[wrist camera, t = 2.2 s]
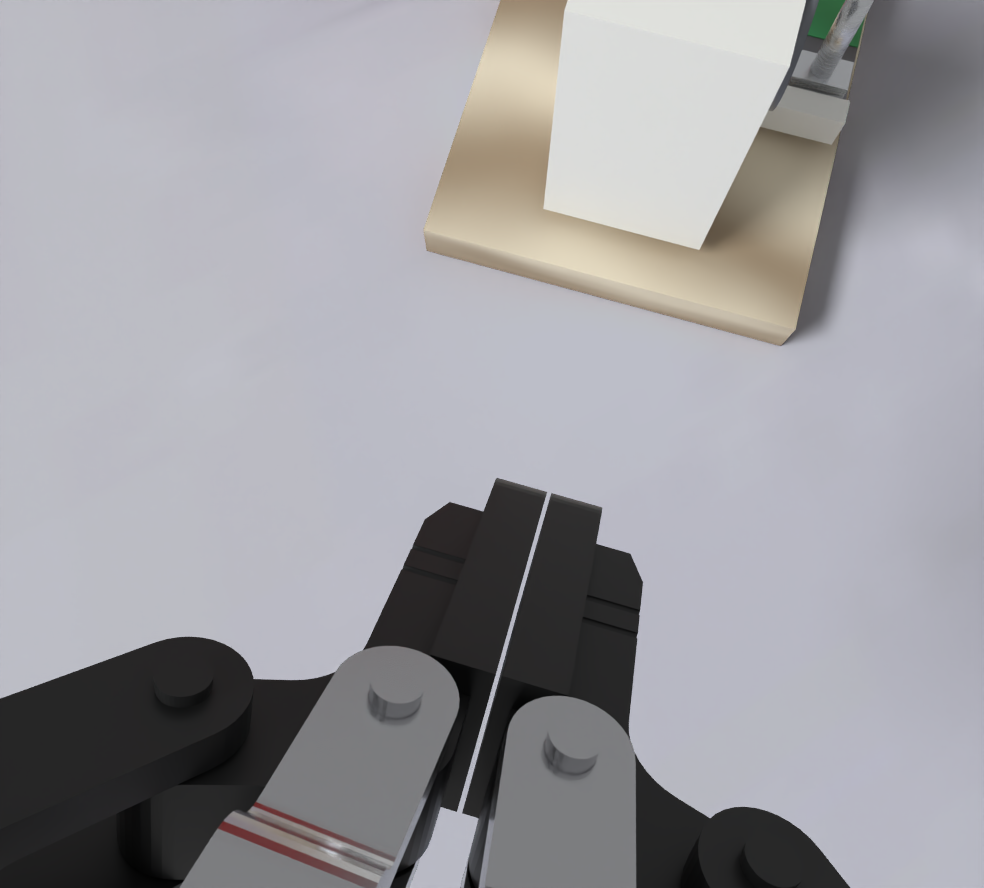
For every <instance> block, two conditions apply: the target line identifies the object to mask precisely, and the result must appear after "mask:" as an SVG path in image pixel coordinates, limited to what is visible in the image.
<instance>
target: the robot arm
mask: <svg viewBox="0 0 984 888" xmlns="http://www.w3.org/2000/svg"><path fill="white" fill-rule="evenodd" d="M546 493H547V492H545V491H541V490H538V489H534V488H531V487H527V486H524V485H520V484H517V483H513V482H510V481H506V480H503V479H499V478H497V479H496V480H495V483H494V486H493V488H492V491H491V494H490V496H489V499H488V501H487V504H486V507H485V509H484V512H482V511H479V510H475V509H472V508H469V507H465V506H462V505H458V504H455V503H451V502H449V503H448V504H446V505H445V506H443V507H442V508H441V509H439V510H438V511H436V512H435V513H433V514H432V515H431V516H429V517H428V518H426V519H425V521H424V523H423V525H422V527H421V529H420V531H419V533H418V536H417V538H416V540H415V542H414V544H413V548H412V549H411V550H410V553H409V555H408V557H407V559H406V561H405V563H404V566H403V569H402V570H401V572H400V574H399V576H398V578H397V580H396V583H395V585H394V587H393V589H392V591H391V593H390V595H389V598H388V600H387V602H386V604H385V606H384V608H383V610H382V612H381V615H380V617H379V619H378V621H377V623H376V625H375V627H374V630H373V632H372V634H371V636H370V638H369V640H368V642H367V644H366V646H365V648H364V649H363V651H360V652H358V653H356V654H354V655H353V656H351V657H349V658H348V659H347V660H346V661H344V662H343V663H342V664H341V665H340V667H339V668H338V669H337V671H336V672H334V673H332V674H329V675H326V676H323V677H319V678H314V679H307V680H262V679H253V675H252V672H251V669H250V667H249V666H248V664H247V662H246V661H245V660H244V658H243V657H242V656H241V655H240V654H239V653H237V652H236V651H235V650H233V649H232V648H230V647H228V646H227V645H225V644H223V643H220V642H217V641H214V640H211V639H206V638H200V637H177V638H171V639H166V640H162V641H159V642H155V643H153V644H150V645H147V646H144V647H142V648H139V649H136V650H133V651H131V652H128V653H125V654H122V655H120V656H117V657H114V658H111V659H109V660H106V661H103V662H100V663H98V664H95V665H92V666H89V667H87V668H84V669H81V670H78V671H76V672H73V673H70V674H67V675H65V676H62V677H59V678H56V679H53V680H51V681H48V682H45V683H42V684H40V685H37V686H34V687H31V688H29V689H26V690H23V691H20V692H18V693H15V694H12V695H9V696H7V697H4V698H1V699H0V888H409V887H410V885H411V882H412V880H413V877H414V875H415V872H416V870H417V866H418V863H419V859H420V857H421V856H422V855H423V853H424V852H425V850H426V849H427V847H428V845H429V842H430V840H431V837H432V834H433V830H434V827H435V824H436V820H437V817H438V814H439V810H440V807H443V808H446V809H450V810H453V811H456V812H457V809H458V806H459V802H460V798H461V795H462V791H463V788H464V784H465V781H466V777H467V774H468V770H469V767H470V763H471V760H472V756H473V753H474V749H475V745H476V742H477V738H478V735H479V731H480V728H481V724H482V721H483V717H484V714H485V710H486V707H487V703H488V700H489V696H490V692H491V689H492V685H493V682H494V678H495V675H496V671H497V668H498V664H499V661H500V657H501V653H502V650H503V646H504V643H505V639H506V636H507V632H508V629H509V625H510V621H511V618H512V614H513V611H514V607H515V604H516V600H517V597H518V593H519V589H520V586H521V582H522V579H523V575H524V572H525V568H526V565H527V561H528V557H529V554H530V550H531V547H532V543H533V540H534V536H535V533H536V529H537V525H538V522H539V518H540V515H541V511H542V508H543V504H544V501H545V497H546ZM601 513H602V507H598V506H595V505H591V504H588V503H584V502H581V501H577V500H574V499H570V498H566V497H563V496H559V495H556V494H552V493H551V497H550V500H549V504H548V507H547V511H546V514H545V518H544V521H543V525H542V528H541V531H540V535H539V538H538V542H537V545H536V549H535V552H534V556H533V559H532V563H531V566H530V570H529V573H528V577H527V580H526V584H525V587H524V591H523V595H522V598H521V602H520V605H519V609H518V612H517V616H516V620H515V623H514V627H513V630H512V634H511V638H510V641H509V645H508V649H507V652H506V656H505V660H504V663H503V667H502V670H501V674H500V678H499V681H498V685H497V689H496V692H495V696H494V700H493V703H492V707H491V711H490V714H489V718H488V721H487V725H486V729H485V732H484V736H483V740H482V743H481V747H480V751H479V754H478V758H477V761H476V765H475V769H474V772H473V776H472V780H471V783H470V787H469V791H468V794H467V798H466V801H465V805H464V809H463V812H462V813H464V814H467V815H470V816H473V817H477V818H479V820H478V824H477V827H476V831H475V835H474V839H473V843H472V847H471V851H470V854H469V858H468V861H467V864H466V867H465V871H464V874H463V878H462V881H461V886H460V888H850V887H849V886H848V884H847V883H846V882H845V881H844V879H843V878H842V877H841V876H840V874H839V873H838V872H837V871H836V869H835V868H834V867H833V865H832V864H831V863H830V862H829V860H828V859H827V858H826V857H825V855H824V854H823V853H822V852H821V850H820V849H819V848H818V847H817V846H816V845H815V843H814V842H813V841H812V840H811V839H810V838H809V837H808V836H807V835H806V834H805V833H803V832H802V831H801V830H800V829H799V828H797V827H796V826H794V825H793V824H792V823H790V822H789V821H787V820H785V819H783V818H781V817H780V816H778V815H775V814H773V813H770V812H768V811H764V810H761V809H757V808H750V807H734V808H730V809H726V810H723V811H721V812H719V813H717V814H715V815H714V816H713V817H712V818H708V817H707V816H705V815H704V814H702V813H700V812H699V811H697V810H696V809H694V808H692V807H691V806H689V805H687V804H686V803H684V802H683V801H681V800H679V799H678V798H676V797H675V796H673V795H672V794H670V793H669V792H668V791H666V790H665V789H664V788H662V787H661V786H660V785H659V784H658V783H657V782H656V781H655V780H654V779H653V778H652V777H651V776H650V775H649V774H648V773H647V772H646V770H645V769H644V767H643V766H642V765H641V763H640V762H639V760H638V758H637V756H636V754H635V752H634V749H633V746H632V743H631V741H630V736H629V714H630V704H631V695H632V685H633V675H634V665H635V655H636V645H637V638H636V637H637V634H638V626H639V616H640V615H639V612H640V606H641V596H642V586H643V581H642V579H641V577H640V575H639V572H638V570H637V568H636V566H635V563H634V561H633V559H632V557H631V554H629V553H626V552H622V551H619V550H615V549H612V548H608V547H605V546H601V545H598V544H596V541H597V535H598V530H599V524H600V519H601Z"/></svg>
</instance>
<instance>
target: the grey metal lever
mask: <svg viewBox="0 0 984 888" xmlns="http://www.w3.org/2000/svg"><path fill="white" fill-rule="evenodd" d="M873 2H874V0H845V2H844V4H843V6H842V8H841V9H840V11H839V13H838V15H837V17H836V19H835V21H834V23H833V25H832V26H831V28H830V30H829V32H828V34H827V36H826V38H825V40H824V42H823V44H822V45H821V47H820V49H819V51H818V53H814V52H810V51H806V50H802V52H801V54H800V57H799V59H798V62H797V64H796V67H795V69H794V72H793V74H792V77H791V79H790V81H789V83H788V86H792V87H796V88H800V89H804V90H808V91H812V92H816V93H820V94H824V95H828V96H832V97H836V98H840V99H842V98H843V97H844V95H845V94H846V92H847V90H848V87H849V82H850V78H851V73H852V69H853V65H854V62H850V61H846V60H842V59H841V58H842V56H843V54H844V53H845V51H846V49H847V47H848V46H849V44H850V42H851V40H852V39H853V37H854V35H855V33H856V32H857V30H858V28H859V26H860V25H861V23H862V21H863V19H864V18H865V16H866V14H867V12H868V11H869V9H870V7H871V5H872V4H873Z"/></svg>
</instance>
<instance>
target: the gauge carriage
mask: <svg viewBox="0 0 984 888" xmlns="http://www.w3.org/2000/svg"><path fill="white" fill-rule="evenodd" d="M818 2H819V0H568V1H567V4H566V7H565V10H564V19H563V28H562V38H561V47H560V57H559V66H558V75H557V85H556V94H555V104H554V113H553V123H552V132H551V141H550V151H549V160H548V170H547V179H546V189H545V198H544V208H543V209H545V210H549V211H553V212H557V213H561V214H564V215H568V216H572V217H576V218H580V219H583V220H587V221H591V222H595V223H599V224H602V225H606V226H610V227H614V228H617V229H621V230H625V231H629V232H633V233H636V234H640V235H644V236H648V237H652V238H655V239H659V240H663V241H667V242H671V243H674V244H678V245H682V246H686V247H690V248H693V249H697V250H700V248H701V246H702V244H703V242H704V240H705V238H706V235H707V233H708V231H709V229H710V227H711V225H712V223H713V221H714V219H715V217H716V215H717V213H718V211H719V209H720V207H721V205H722V203H723V201H724V199H725V197H726V195H727V193H728V191H729V189H730V187H731V185H732V183H733V181H734V179H735V177H736V175H737V173H738V171H739V168H740V166H741V164H742V162H743V160H744V158H745V156H746V154H747V152H748V150H749V148H750V146H751V144H752V142H753V140H754V138H755V136H756V134H757V132H758V130H759V128H760V127H763V128H767V129H771V130H775V131H779V132H783V133H787V134H791V135H795V136H799V137H803V138H806V139H810V140H814V141H818V142H822V143H826V144H830V145H832V143H833V142H834V140H835V139H836V137H837V136H838V134H839V132H840V131H841V129H842V128H843V126H844V125H845V123H846V118H847V114H848V110H849V105H850V101H848V100H844V99H840V98H836V97H832V96H828V95H824V94H820V93H816V92H812V91H808V90H804V89H800V88H796V87H792V86H788V83H789V81H790V79H791V77H792V74H793V72H794V69H795V67H796V64H797V62H798V59H799V57H800V54H801V52H802V49H803V46H804V43H805V41H806V38H807V35H808V32H809V29H810V27H811V24H812V21H813V18H814V15H815V12H816V8H817V5H818Z"/></svg>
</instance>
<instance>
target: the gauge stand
mask: <svg viewBox="0 0 984 888" xmlns="http://www.w3.org/2000/svg"><path fill="white" fill-rule="evenodd" d="M567 1H568V0H501V1H500V4H499V7H498V10H497V13H496V16H495V18H494V21H493V24H492V27H491V30H490V33H489V36H488V39H487V42H486V45H485V48H484V51H483V54H482V57H481V60H480V63H479V66H478V69H477V72H476V75H475V78H474V81H473V84H472V87H471V90H470V93H469V96H468V99H467V102H466V105H465V108H464V111H463V114H462V117H461V120H460V123H459V126H458V129H457V132H456V135H455V138H454V141H453V143H452V146H451V149H450V152H449V155H448V158H447V161H446V164H445V167H444V170H443V173H442V176H441V179H440V182H439V185H438V188H437V191H436V194H435V197H434V200H433V203H432V206H431V209H430V212H429V215H428V218H427V221H426V224H425V227H424V236H425V242H426V249H427V251H430V252H434V253H438V254H441V255H445V256H449V257H452V258H456V259H460V260H464V261H467V262H471V263H475V264H478V265H482V266H486V267H490V268H493V269H497V270H501V271H504V272H508V273H512V274H516V275H519V276H523V277H527V278H530V279H534V280H538V281H542V282H545V283H549V284H553V285H556V286H560V287H564V288H568V289H571V290H575V291H579V292H582V293H586V294H590V295H593V296H597V297H601V298H605V299H608V300H612V301H616V302H619V303H623V304H627V305H631V306H634V307H638V308H642V309H645V310H649V311H653V312H657V313H660V314H664V315H668V316H671V317H675V318H679V319H683V320H686V321H690V322H694V323H697V324H701V325H705V326H709V327H712V328H716V329H720V330H723V331H727V332H731V333H735V334H738V335H742V336H746V337H749V338H753V339H757V340H761V341H764V342H768V343H772V344H775V345H779V346H781V345H782V344H783V343H784V342H785V341H786V340H787V338H788V337H789V336H790V335H791V334H792V333H793V332H794V331H795V329H796V325H797V320H798V316H799V312H800V307H801V303H802V299H803V294H804V290H805V285H806V281H807V277H808V272H809V268H810V264H811V259H812V255H813V250H814V246H815V242H816V237H817V233H818V228H819V224H820V220H821V215H822V211H823V207H824V202H825V198H826V193H827V189H828V185H829V180H830V176H831V172H832V167H833V163H834V158H835V154H836V150H837V145H838V141H839V136H840V132H841V131H840V132H839V134H838V136H837V137H836V139H835V140H834V142H833V143H832V145H830V144H826V143H822V142H818V141H814V140H810V139H806V138H803V137H799V136H795V135H791V134H787V133H783V132H779V131H775V130H771V129H767V128H763V127H760V128H759V130H758V132H757V134H756V136H755V138H754V140H753V142H752V144H751V146H750V148H749V150H748V152H747V154H746V156H745V158H744V160H743V162H742V164H741V166H740V168H739V171H738V173H737V175H736V177H735V179H734V181H733V183H732V185H731V187H730V189H729V191H728V193H727V195H726V197H725V199H724V201H723V203H722V205H721V207H720V209H719V211H718V213H717V215H716V217H715V219H714V221H713V223H712V225H711V227H710V229H709V231H708V233H707V235H706V238H705V240H704V242H703V244H702V246H701V248H700V250H697V249H693V248H690V247H686V246H682V245H678V244H674V243H671V242H667V241H663V240H659V239H655V238H652V237H648V236H644V235H640V234H636V233H633V232H629V231H625V230H621V229H617V228H614V227H610V226H606V225H602V224H599V223H595V222H591V221H587V220H583V219H580V218H576V217H572V216H568V215H564V214H561V213H557V212H553V211H549V210H545V209H543V208H544V198H545V189H546V179H547V170H548V160H549V151H550V141H551V132H552V123H553V113H554V104H555V94H556V85H557V75H558V66H559V57H560V47H561V38H562V28H563V19H564V10H565V7H566V4H567ZM844 2H845V0H819V2H818V5H817V8H816V12H815V15H814V18H813V21H812V24H811V27H810V29H809V32H808V35H807V38H806V41H805V43H804V46H803V49H802V50H806V51H810V52H814V53H818V51H819V49H820V47H821V45H822V44H823V42H824V40H825V38H826V36H827V34H828V32H829V30H830V28H831V26H832V25H833V23H834V21H835V19H836V17H837V15H838V13H839V11H840V9H841V8H842V6H843V4H844ZM867 14H868V12H867ZM867 14H866V16H865V18H864V19H863V21H862V23H861V25H860V26H859V28H858V30H857V32H856V33H855V35H854V37H853V39H852V40H851V42H850V44H849V46H848V47H847V49H846V51H845V53H844V54H843V56H842V58H841V59H842V60H846V61H850V62H854V65H853V69H852V73H851V78H850V82H849V87H848V90H847V92H846V94H845V95H844V97H843V98H842V99H844V100H848V97H849V93H850V88H851V84H852V80H853V75H854V71H855V66H856V62H857V58H858V53H859V49H860V45H861V40H862V36H863V31H864V27H865V23H866V18H867Z"/></svg>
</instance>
